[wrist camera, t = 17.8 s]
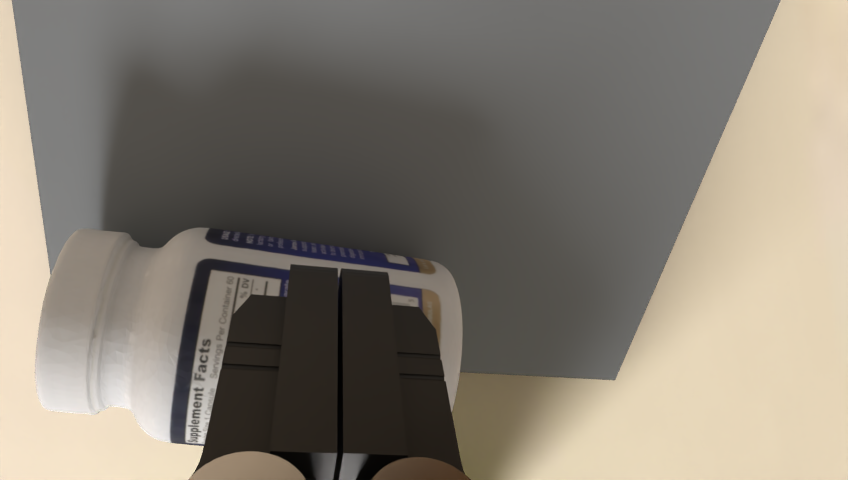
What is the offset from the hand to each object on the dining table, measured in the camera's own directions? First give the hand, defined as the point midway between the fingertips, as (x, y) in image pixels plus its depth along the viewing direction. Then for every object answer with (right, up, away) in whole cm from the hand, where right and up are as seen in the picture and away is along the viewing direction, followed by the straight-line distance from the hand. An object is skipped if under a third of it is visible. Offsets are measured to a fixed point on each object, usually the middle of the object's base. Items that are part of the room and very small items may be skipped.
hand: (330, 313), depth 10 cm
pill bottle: (+2, -2, +9) cm, 9 cm away
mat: (+1, +5, +8) cm, 10 cm away
